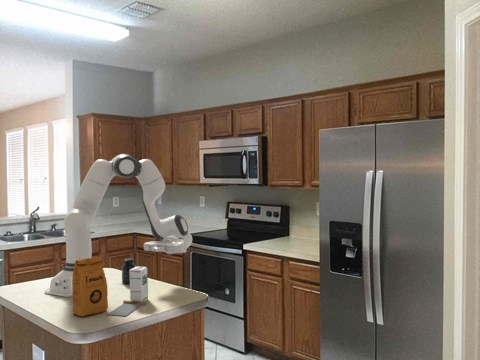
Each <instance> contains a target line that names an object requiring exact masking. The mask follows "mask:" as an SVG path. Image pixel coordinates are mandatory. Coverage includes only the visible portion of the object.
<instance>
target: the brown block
mask: <svg viewBox="0 0 480 360" xmlns="http://www.w3.org/2000/svg"><path fill="white" fill-rule="evenodd" d="M122 304H136V305H141V306H146V305H147V301H130V300H128V299H127V300H126V299H123V301H122Z"/></svg>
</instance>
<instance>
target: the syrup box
mask: <svg viewBox="0 0 480 360" xmlns="http://www.w3.org/2000/svg"><path fill="white" fill-rule="evenodd" d="M148 279H149V278H148V267H147V266H136V267H135V268H133V269H130V284H129V299H130V301H145V302H147V301H148V300H149V291H148V290H149V288H148V286H149V285H148V284H149V283H148Z"/></svg>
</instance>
